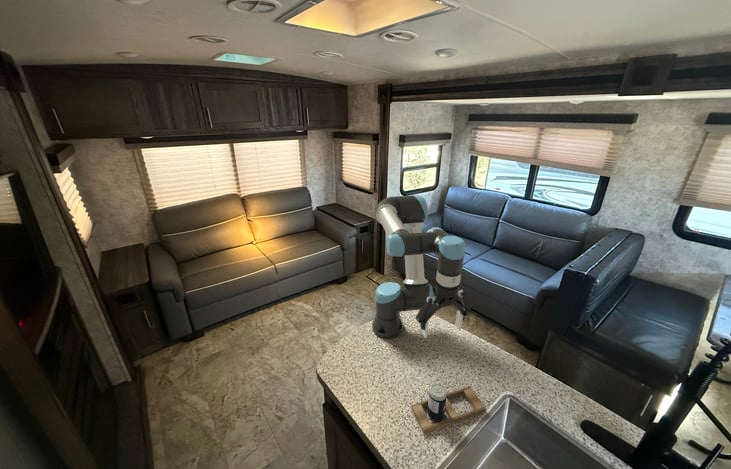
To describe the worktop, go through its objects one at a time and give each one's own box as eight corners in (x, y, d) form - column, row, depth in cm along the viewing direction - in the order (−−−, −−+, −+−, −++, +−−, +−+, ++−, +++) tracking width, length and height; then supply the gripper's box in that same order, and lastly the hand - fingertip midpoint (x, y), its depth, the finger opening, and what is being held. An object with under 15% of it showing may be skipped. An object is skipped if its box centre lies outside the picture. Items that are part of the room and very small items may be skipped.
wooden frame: (411, 408, 101) (411, 405, 100) (469, 390, 107) (469, 386, 106) (423, 434, 93) (423, 430, 92) (485, 412, 99) (486, 408, 98)
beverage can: (444, 424, 95) (447, 399, 91) (427, 421, 96) (429, 397, 92) (443, 408, 101) (446, 384, 96) (427, 405, 102) (429, 381, 97)
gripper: (418, 295, 87) (414, 346, 96) (487, 281, 93) (477, 330, 102) (408, 282, 93) (405, 331, 102) (473, 270, 99) (465, 317, 108)
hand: (441, 331), depth 102 cm, fingers open, 13 cm apart
